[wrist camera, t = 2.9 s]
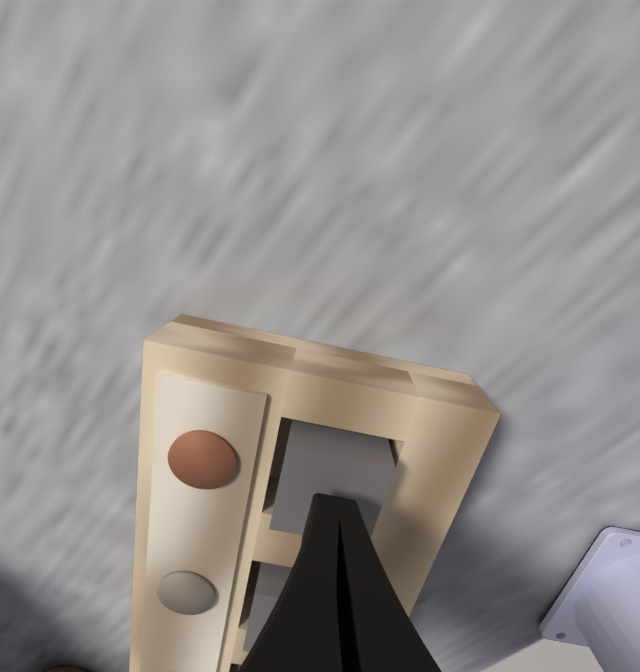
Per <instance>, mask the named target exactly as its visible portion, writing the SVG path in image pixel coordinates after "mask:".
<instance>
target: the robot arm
mask: <svg viewBox="0 0 640 672" xmlns="http://www.w3.org/2000/svg"><path fill="white" fill-rule="evenodd" d="M539 630H540V632H541V634H542V636H543V637H544V638H546V639H549V640H554V641H560V642H566V643H571V644H577V645H582V646H588V647H590V649H591V651H592V652H593V654H594V655H595V657H596V659H597V660H598V662H599V664H600V666H601V667H602V669H603V671H604V672H640V532H638V531H632V530H627V529H622V528H617V527H608V528H605V529H604V530H602V531H601V533H600V534H599V536H598V537H597V539H596V540H595V542H594V543H593V545H592V546H591V548H590V549H589V551H588V552H587V554H586V556H585V557H584V559H583V560H582V562H581V563H580V565H579V566H578V568H577V569H576V571H575V572H574V574H573V575H572V577H571V578H570V580H569V581H568V583H567V584H566V586H565V587H564V589H563V591H562V592H561V594H560V595H559V597H558V598H557V600H556V601H555V603H554V604H553V606H552V607H551V609H550V610H549V612H548V613H547V615H546V616H545V618H544V619H543V621H542V623H541V624H540V626H539ZM237 672H441V670H440V668H439V667H438V665H437V664H436V662H435V661H434V659H433V657H432V656H431V654H430V653H429V651H428V649H427V648H426V646H425V645H424V643H423V641H422V640H421V638H420V636H419V634H418V633H417V631H416V629H415V628H414V626H413V624H412V622H411V621H410V619H409V617H408V615H407V613H406V612H405V610H404V608H403V606H402V604H401V602H400V600H399V598H398V596H397V595H396V593H395V591H394V589H393V587H392V585H391V583H390V581H389V579H388V576H387V574H386V572H385V570H384V568H383V566H382V564H381V561H380V559H379V557H378V555H377V553H376V550H375V548H374V546H373V543H372V541H371V538H370V536H369V533H368V531H367V529H366V526H365V523H364V521H363V518H362V515H361V513H360V510H359V507H358V504H357V502H356V501H355V500H353V499H348V498H342V497H337V496H332V495H327V494H322V493H316V494H314V495H313V498H312V502H311V505H310V509H309V513H308V517H307V520H306V524H305V528H304V532H303V535H302V542H301V548H300V550H299V553H298V556H297V558H296V560H295V563H294V565H293V567H292V570H291V572H290V574H289V577H288V579H287V581H286V583H285V585H284V587H283V590H282V592H281V594H280V596H279V598H278V600H277V602H276V604H275V606H274V608H273V610H272V612H271V614H270V615H269V617H268V619H267V621H266V623H265V625H264V626H263V628H262V630H261V632H260V634H259V636H258V637H257V639H256V641H255V643H254V644H253V646H252V648H251V650H250V651H249V653H248V655H247V657H246V658H245V660H244V661H243V663H242V665H241V666H240V668H239V670H238V671H237Z"/></svg>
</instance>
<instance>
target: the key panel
mask: <svg viewBox="0 0 640 672" xmlns="http://www.w3.org/2000/svg"><path fill="white" fill-rule="evenodd" d="M500 415H501V413H500V412H499V411H498V410H497V408H496V407H495V406H494V405H493V404H492V403H491V401H490V400H489V399H488V398H487V397H486V396H485V394H484V393H483V392H482V391H481V390H480V388H479V387H478V386H477V385H476V384H475V383H474V381H473V380H472V379H471V378H470V377H469V376H468V375H467V374H462V373H458V372H453V371H448V370H443V369H439V368H434V367H429V366H424V365H420V364H415V363H410V362H405V361H401V360H396V359H391V358H386V357H382V356H377V355H372V354H367V353H363V352H358V351H353V350H349V349H344V348H339V347H334V346H330V345H325V344H320V343H315V342H311V341H306V340H301V339H296V338H292V337H287V336H282V335H277V334H273V333H268V332H263V331H258V330H254V329H249V328H244V327H239V326H235V325H230V324H225V323H221V322H216V321H211V320H206V319H202V318H197V317H192V316H187V315H183V314H182V315H180V316H179V317H177V318H176V319H174V320H173V321H171V322H170V323H168V324H167V325H165V326H164V327H162V328H161V329H159V330H158V331H156V332H155V333H153V334H152V335H150V336H149V337H148V338H146V339H145V340H144V346H143V369H142V391H141V414H140V437H139V460H138V483H137V506H136V529H135V552H134V575H133V598H132V621H131V644H130V667H129V672H237V670H238V665H242V663H243V661H244V660H245V658H246V657H247V655H248V653H249V652H247V651H243V646H244V641H245V636H246V631H247V626H248V621H249V616H250V611H251V606H252V601H253V596H254V592H255V587H256V583H257V578H258V573H259V569H260V564H261V562H265V563H270V564H276V565H282V566H287V567H293V565H294V563H295V560H296V558H297V556H298V553H299V550H300V548H301V542H302V535H297V534H291V533H286V532H281V531H275V530H270V529H269V527H270V522H271V517H272V512H273V507H274V501H275V496H276V491H277V486H278V482H279V477H280V472H281V468H282V463H283V459H284V454H285V449H286V445H287V440H288V436H289V431H290V426H291V422H292V419H295V420H300V421H304V422H309V423H314V424H319V425H324V426H329V427H334V428H339V429H344V430H349V431H354V432H359V433H364V434H369V435H374V436H379V437H384V438H388V440H389V444H390V448H391V452H392V456H393V460H394V464H395V468H396V469H395V472H394V474H393V477H392V480H391V483H390V486H389V488H388V491H387V494H386V497H385V500H384V503H383V505H382V508H381V511H380V514H379V517H378V519H377V522H376V525H375V528H374V531H373V533H372V536H371V541H372V543H373V546H374V548H375V550H376V553H377V555H378V557H379V559H380V561H381V564H382V566H383V568H384V570H385V572H386V574H387V576H388V579H389V581H390V583H391V585H392V587H393V589H394V591H395V593H396V595H397V596H398V598H399V600H400V602H401V604H402V606H403V608H404V610H405V612H406V613H407V615H408V617H409V616H410V613H411V611H412V609H413V607H414V605H415V602H416V600H417V598H418V596H419V594H420V591H421V589H422V587H423V585H424V583H425V580H426V578H427V576H428V574H429V572H430V569H431V567H432V565H433V563H434V561H435V558H436V556H437V554H438V552H439V550H440V547H441V545H442V543H443V541H444V539H445V536H446V534H447V532H448V530H449V528H450V525H451V523H452V521H453V519H454V517H455V514H456V512H457V510H458V508H459V506H460V503H461V501H462V499H463V497H464V495H465V492H466V490H467V488H468V486H469V484H470V481H471V479H472V477H473V475H474V473H475V470H476V468H477V466H478V464H479V462H480V459H481V457H482V455H483V453H484V451H485V448H486V446H487V444H488V442H489V440H490V437H491V435H492V433H493V431H494V429H495V426H496V424H497V422H498V420H499V418H500Z"/></svg>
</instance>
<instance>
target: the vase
mask: <svg viewBox="0 0 640 672" xmlns="http://www.w3.org/2000/svg"><path fill="white" fill-rule="evenodd" d="M46 672H87V671H85V670H82V669H79V668H74V667H57V668H53V669H51V670H48V671H46Z"/></svg>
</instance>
